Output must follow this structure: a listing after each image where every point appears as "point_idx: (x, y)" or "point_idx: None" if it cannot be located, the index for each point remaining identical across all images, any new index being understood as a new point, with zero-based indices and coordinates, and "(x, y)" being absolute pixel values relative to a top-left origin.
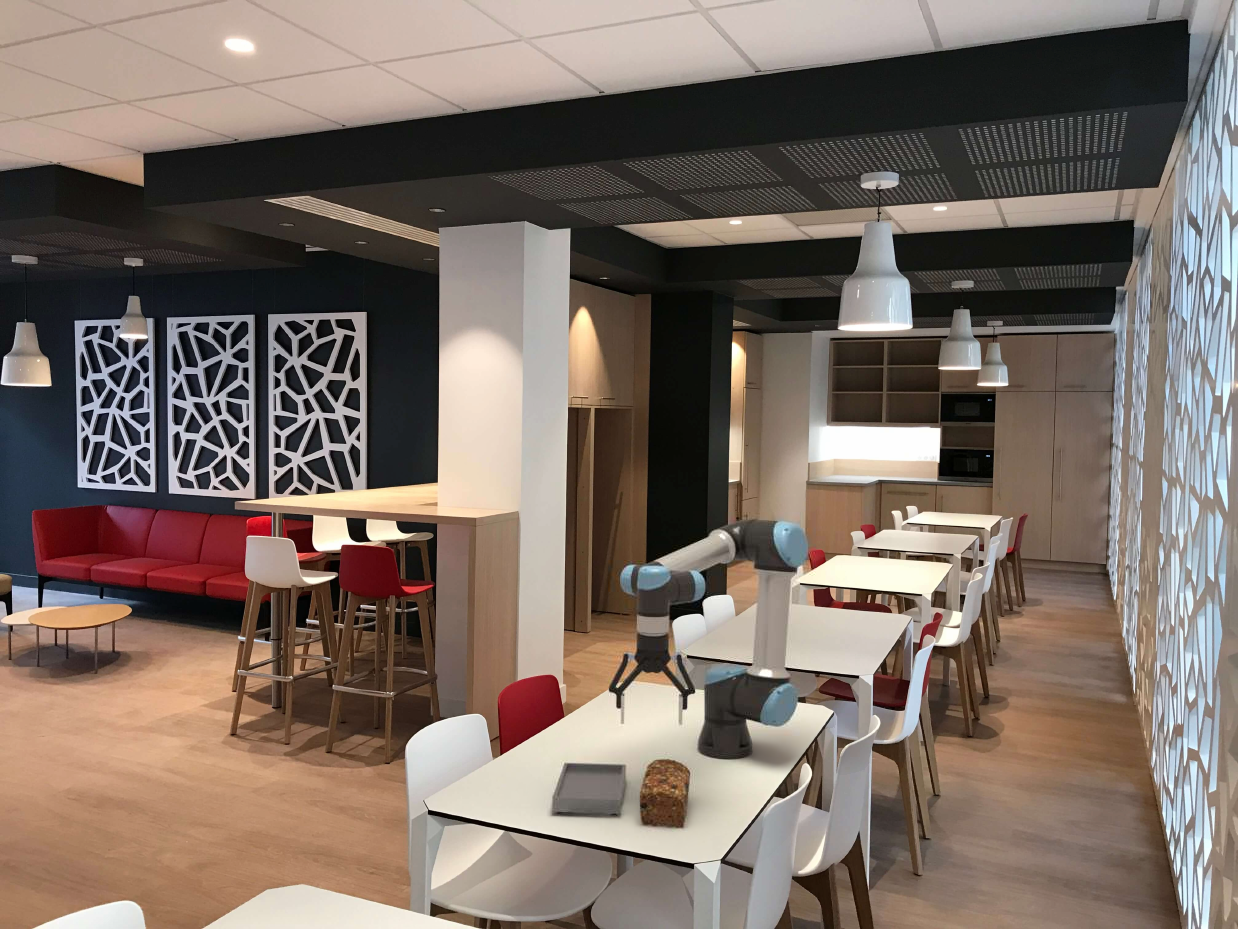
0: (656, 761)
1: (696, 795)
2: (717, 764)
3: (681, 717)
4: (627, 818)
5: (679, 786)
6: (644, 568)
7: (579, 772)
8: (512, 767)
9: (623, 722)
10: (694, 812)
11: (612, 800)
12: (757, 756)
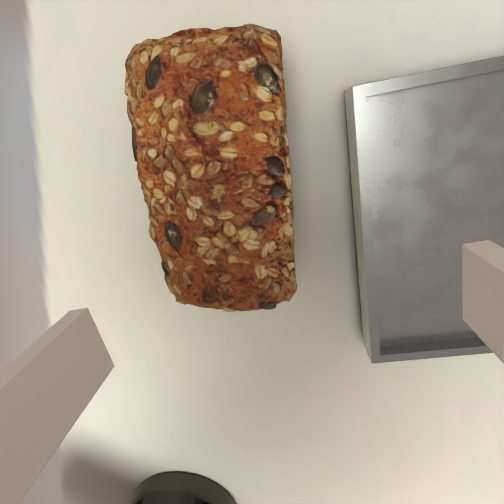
0: (262, 276)
1: None
2: (182, 447)
3: (42, 338)
4: (321, 97)
5: (142, 97)
6: None
7: None
8: None
9: (472, 248)
10: None
11: (379, 82)
12: (121, 489)
